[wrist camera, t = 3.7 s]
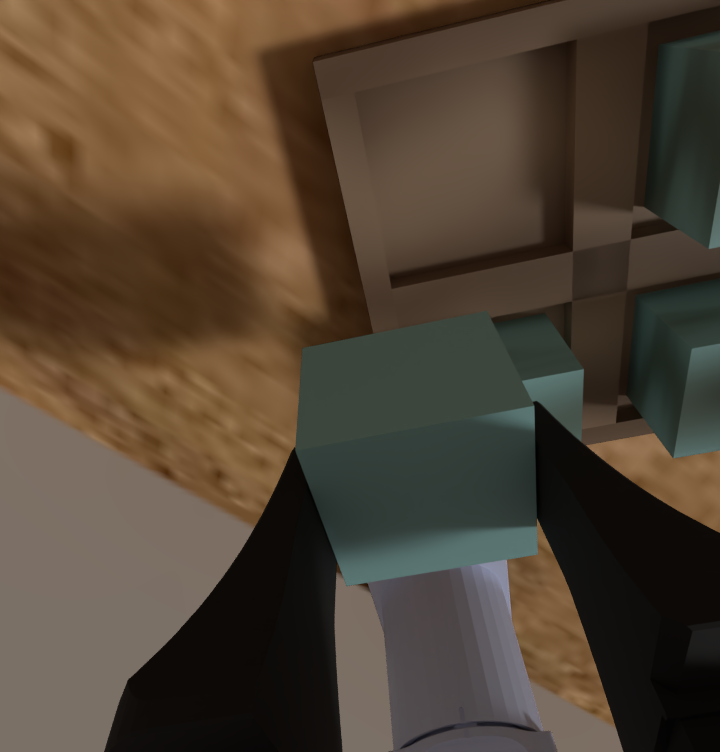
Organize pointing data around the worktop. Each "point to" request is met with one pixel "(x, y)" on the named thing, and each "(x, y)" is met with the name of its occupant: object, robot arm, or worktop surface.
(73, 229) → the worktop surface
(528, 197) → the puzzle tray
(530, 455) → the teal block
